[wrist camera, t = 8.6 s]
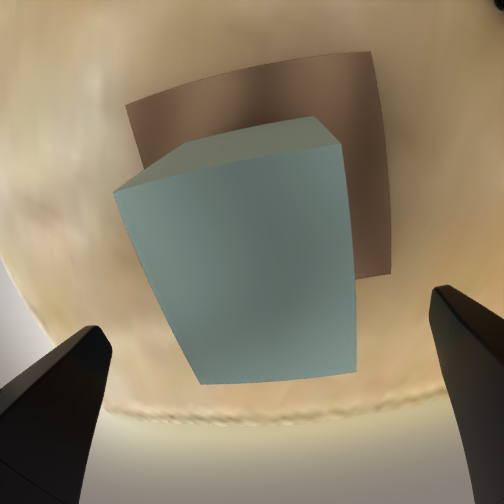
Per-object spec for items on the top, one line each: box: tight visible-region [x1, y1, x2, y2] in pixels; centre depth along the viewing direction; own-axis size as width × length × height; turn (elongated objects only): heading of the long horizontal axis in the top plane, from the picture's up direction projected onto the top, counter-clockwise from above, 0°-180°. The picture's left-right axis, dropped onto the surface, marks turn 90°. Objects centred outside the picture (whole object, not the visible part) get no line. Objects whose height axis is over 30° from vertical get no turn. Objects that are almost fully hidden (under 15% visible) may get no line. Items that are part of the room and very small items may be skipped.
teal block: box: [113, 116, 357, 384], centre depth 12 cm, size 6×8×7 cm
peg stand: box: [125, 52, 391, 279], centre depth 17 cm, size 14×14×4 cm
